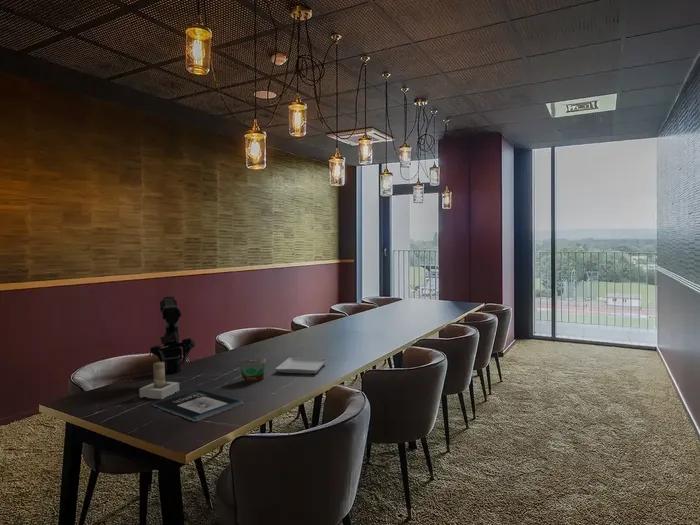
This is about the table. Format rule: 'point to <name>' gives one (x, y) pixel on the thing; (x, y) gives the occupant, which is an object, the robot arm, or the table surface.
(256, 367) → the food container
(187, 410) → the sketchbook
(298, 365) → the salad plate
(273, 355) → the table surface
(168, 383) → the holder block
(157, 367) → the beige cylinder
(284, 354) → the table surface
